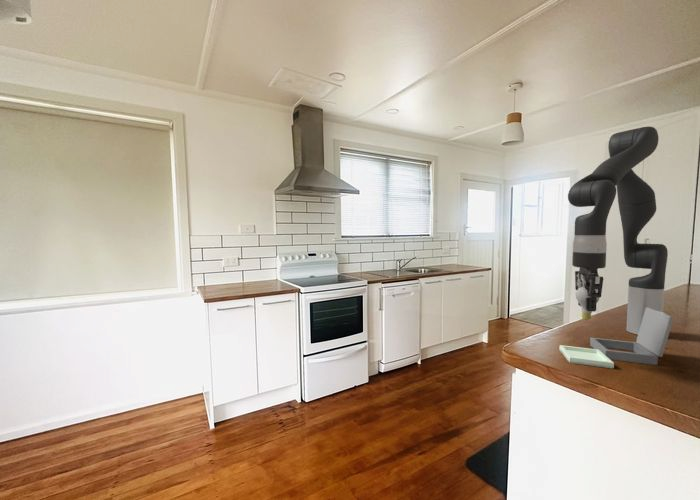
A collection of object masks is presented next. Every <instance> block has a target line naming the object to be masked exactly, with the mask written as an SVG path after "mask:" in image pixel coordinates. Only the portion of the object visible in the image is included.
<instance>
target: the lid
mask: <svg viewBox="0 0 700 500" xmlns="http://www.w3.org/2000/svg"><path fill="white" fill-rule="evenodd" d="M674 319H675V318H674V317H673V316H672V315H669V314H667V313H665V312H664V311H663V312H660V311H656V310H654V309H652V308H649V307H646V309H645V312H644V316H643V319H642V323H641V326H640V330H639V333H638V335H637V338H636V341H635V342H636V343H637V344H639V345H641V346H642V347H644V348H645V349H647V350H648V351H650V352H652V353H653V354H655V355H656V356H658V357H660V358H663V356H664V352H665V349H666V345H667V342H668V339H669V336H670V332H671V329H672V325H673V322H674Z"/></svg>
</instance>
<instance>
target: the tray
mask: <svg viewBox="0 0 700 500" xmlns="http://www.w3.org/2000/svg"><path fill="white" fill-rule="evenodd" d="M558 350H559V352H560V353H561V354H562V356H564V358H565V359H566V360H567V362H569V364H576V365H584V366H591V367H599V368H607V369H615V362H614V361H613V360H612V359H609V358H608V357H607V356H606V355H604V354H603V353H602V352H601V351H600V350H598V349H594V348H588V347H581V346H580V347H579V346H569V345H561V344H559V348H558Z"/></svg>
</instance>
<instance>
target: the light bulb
mask: <svg viewBox="0 0 700 500" xmlns="http://www.w3.org/2000/svg"><path fill="white" fill-rule="evenodd" d="M588 287H589V286H588ZM593 293H594V291H593ZM600 298H601V297H598V299H597V298H596V299H597V303H598V302H599V301H600ZM575 299H576V301H577V303H578V302H579V304H580V305H581V306H580V307H581V319H583V320H585V321H590V320H591V319H592V313H593V311H587V310H586V291H585V290H584V289H583V287H580V288H579V289H578V290H575Z"/></svg>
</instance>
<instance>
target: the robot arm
mask: <svg viewBox="0 0 700 500" xmlns="http://www.w3.org/2000/svg"><path fill="white" fill-rule="evenodd" d="M658 144H659V133H658V130H657V129H656V128H655V127H653V126H641V127H637V128H631V129H628V130H622V131H619V132H616V133H614V134H612V135H611V136H610V137H609V140H608V153H609V158H607V159H605V160H604V161H603V162H601V163H600V164H599V165H598V166H597V167H596V168H595V169H594V170H593V172H591V173H590V174H588V175H586V176H585V177H583V178H581V179H579V180H578V181H577V182H575V183H574V184H573V185H572V186H571V187H570V189H569V191H568V193H567V200H568V203H569V204H570V205H572V206H573V207H575V208H584V207H585V208H586V207H594V208H593V209H592V210H591V212H589V213H586V214H581V215H579V216H577V217H576V218H575V220H574V234H573V235H574V236H573V240H572V241H573V242H572V257H571V258H572V264H571V265H572V266H573V267H574V268H579V270H575V271H574V278H575V279H574V280H575V281H574V282H575V285H574V286H575V287H574V288H575V291H577V290H578V289H579V288H580V287H583V289H584V290H585V291H586V310H587V311H592V313H593V312H596V311H597V303H598V302H597V299H598V297H600V298H601V297H602V292H603V284H604V277H603V276H600V275H599V272H598V271H599V270H598V269H605V268H606V267H607V266H606V264H607V247H608V245H607V220H608V218H609V214H610V210H611V208H612V206H613V203H614V201H615V199H616V196H617V203H618V211H619V214H620V216H619V217H620V220H621V227H622V238H623V239H622V240H623V241H622V242H623V243H622V244H623V259H624V263H625V264H626V266H627V267H629V268H633V269H643V270H644V269H646V270H650V272H649V273H647V274H644V275H642V276H641V275H640V276H635V277H630V278H629V279H628V288H627V289H628V290H627V313H626V331H627V332H628V333H631V334H634V335H637V336H638V333H639V330H640V326H641V323H642V319H643V316H644V312H645V309H646V307H649V308H652V309H654V310H656V311H660V312H663V313H664V304H665V303H664V302H665V297H664V296H665V283H666V270H667V265H668V264H667V263H668V253H669V252H668V248H667V246H666V245H665V244H663V243H639V242H638V236H639V234H640V233H641V231H642V230H643V229H644V227H645V226H646V225H647V224H648V223H649V222H650V221H651V219H652V218H653V217H654V216H655V214H656V212H657V200H656V193H655V191H654V189H653V188H652V187H651V185H649V184H648V183H647V182H646V181H644V180H643V179H642V178H641V177H640V176H639V175H638V174H637V173H635V171H634V170H633V169H634V168H635V167H636V166H637V165H639V164H640V163H641V162H643V161H644V160H646V159H647V158H648V157H650V156H651V155H652V154H653V153H654V152H655V151H656V150H657V147H658V146H659V145H658ZM588 286H589V287H588ZM593 291H594V293H593ZM596 298H597V299H596ZM577 305H578V306H580V307H581V305H580V304H579V302H578V301H577Z"/></svg>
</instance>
